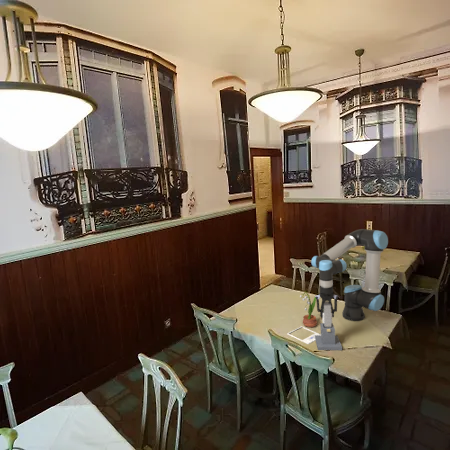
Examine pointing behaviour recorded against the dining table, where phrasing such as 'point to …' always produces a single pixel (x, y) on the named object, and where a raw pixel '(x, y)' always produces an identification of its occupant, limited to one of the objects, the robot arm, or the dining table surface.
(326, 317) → the post
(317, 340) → the jack stand
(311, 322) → the potted flower
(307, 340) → the photo frame
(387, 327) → the dining table surface
